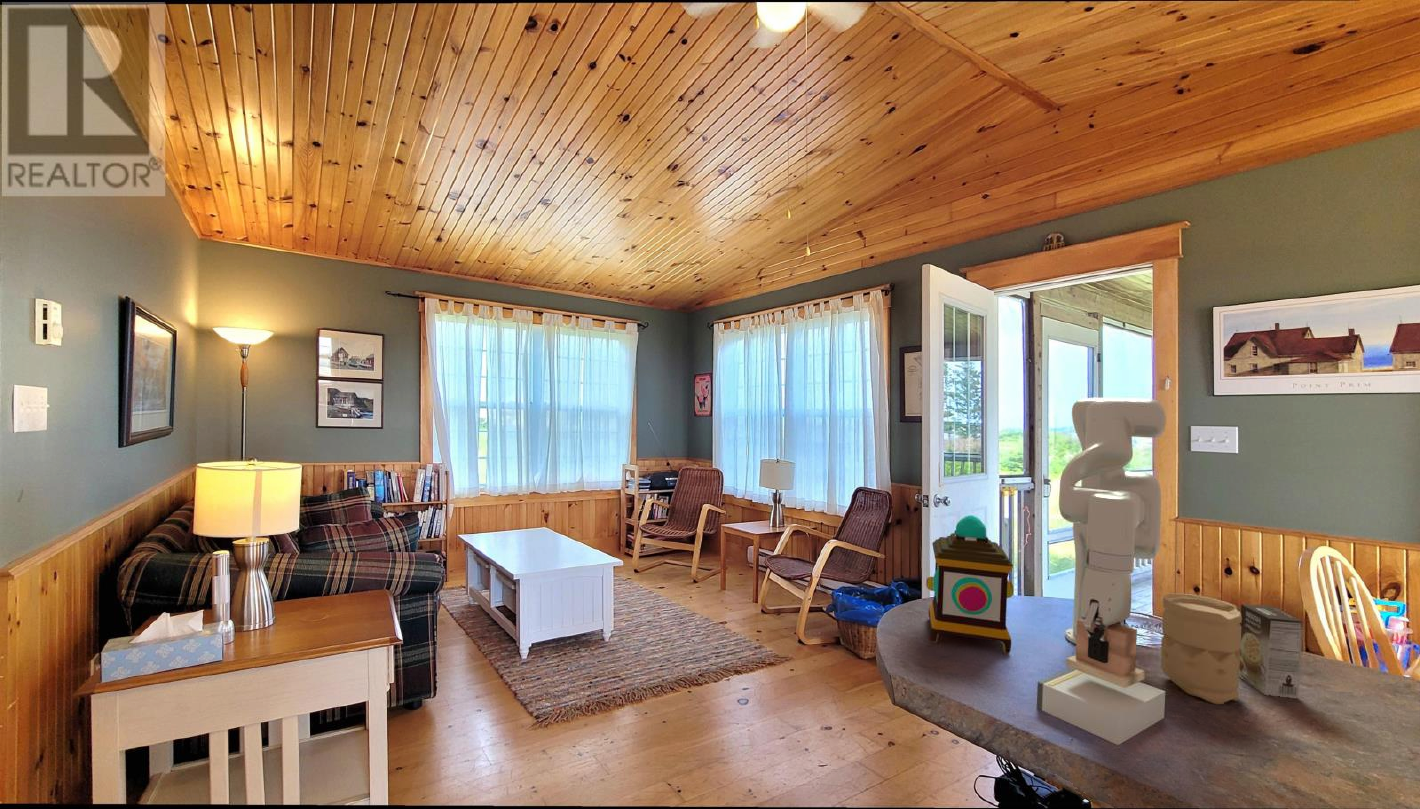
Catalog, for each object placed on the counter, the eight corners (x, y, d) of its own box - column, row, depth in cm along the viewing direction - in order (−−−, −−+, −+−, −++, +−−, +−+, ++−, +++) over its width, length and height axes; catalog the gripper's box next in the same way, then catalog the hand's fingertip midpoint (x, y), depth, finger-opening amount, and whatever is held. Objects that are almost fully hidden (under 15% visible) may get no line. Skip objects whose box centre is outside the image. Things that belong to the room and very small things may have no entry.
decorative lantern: (923, 616, 162) (927, 505, 162) (1004, 627, 156) (1009, 511, 155) (925, 644, 143) (930, 518, 143) (1018, 658, 137) (1023, 527, 136)
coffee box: (1235, 675, 132) (1238, 602, 132) (1269, 679, 131) (1272, 605, 130) (1264, 695, 123) (1268, 617, 123) (1301, 699, 122) (1305, 620, 121)
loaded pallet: (1086, 657, 119) (1088, 612, 119) (1144, 678, 111) (1146, 630, 111) (1066, 665, 115) (1068, 619, 115) (1124, 688, 107) (1127, 637, 107)
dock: (1084, 685, 124) (1085, 661, 124) (1164, 717, 113) (1165, 690, 112) (1036, 707, 115) (1037, 681, 115) (1118, 745, 103) (1119, 715, 103)
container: (1245, 693, 123) (1249, 606, 123) (1228, 711, 116) (1232, 618, 116) (1170, 670, 133) (1174, 589, 133) (1150, 685, 126) (1154, 599, 126)
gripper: (1109, 551, 121) (1105, 641, 121) (1064, 560, 111) (1060, 658, 111) (1152, 560, 114) (1148, 655, 114) (1109, 571, 105) (1104, 675, 105)
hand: (1105, 656), depth 113 cm, fingers closed on loaded pallet, 5 cm apart
